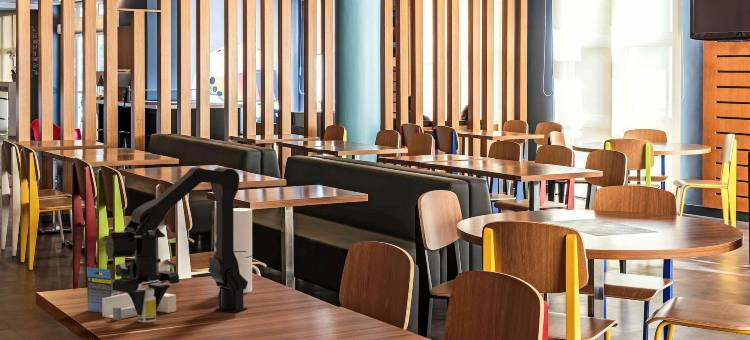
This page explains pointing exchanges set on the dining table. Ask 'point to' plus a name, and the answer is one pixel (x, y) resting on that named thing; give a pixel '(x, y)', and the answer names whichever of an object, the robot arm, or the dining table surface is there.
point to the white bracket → (132, 306)
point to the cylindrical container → (243, 243)
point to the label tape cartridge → (98, 288)
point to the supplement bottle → (148, 307)
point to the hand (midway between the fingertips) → (146, 313)
